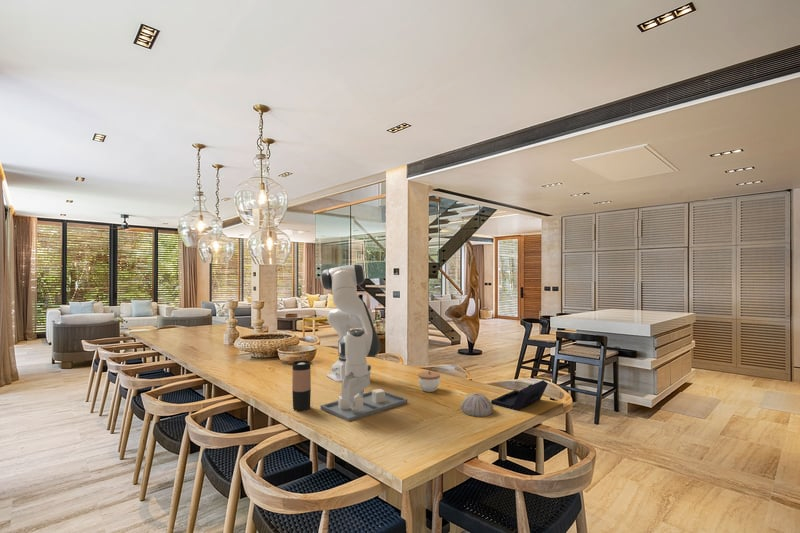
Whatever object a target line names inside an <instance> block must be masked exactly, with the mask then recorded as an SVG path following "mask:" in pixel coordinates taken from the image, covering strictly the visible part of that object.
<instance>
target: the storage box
mask: <svg viewBox="0 0 800 533" xmlns="http://www.w3.org/2000/svg"><path fill="white" fill-rule="evenodd" d="M548 384H549V383H548V382H547V381H546V380H544V379H543V380H540V381H538V382H536V383H534V384H532V383H531V384H529V385H528V386H526V387H525V388H522V389H520V390H517V389H514V390H512V391H510V392H507V393H505V394H503V395H500V396H498V397H496V398H493V399H491V400H490V402H491V403H492V405H493V406H497V407H501V408H505V409H509V410H513V411H520V410H521V409H524V408H526V407H528V406H530V405H532V404H534V403H536V402H539V401H540V400H541V398H542V397H543V395H544V393H545V391H546V388H547V387H548Z"/></svg>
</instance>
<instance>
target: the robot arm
mask: <svg viewBox="0 0 800 533" xmlns="http://www.w3.org/2000/svg"><path fill="white" fill-rule="evenodd" d="M319 279H320V284H321V286H322V287H323V289H325V290H326V291H327V290H329V291H331V293H332V294H331V296H332V301H333V304H334V306H335V307H336V308H332V309H331V310H330V311H329V312H328V313H327V317H326V318H327V319H326V320H327V323H328V325H329V326H330V327H332V329H333V330H334V331H336V332H335V333H336V334H337V335H338V338H339V339H338V341H337V357H338V360H336V361H335V363H333V364H332V365H331V368H330V369H331V370H330V372H329V373H327V374H326V376H327V377H328V378H330V379H331V380H333V381H335V383H341V397H342V399H348V401H349V406H350V407H354V406H355V402H354V400H353V399H354V396H355V395H358V394H360V395H361V396H362V397H363V394H364V393H365V389H366V388H368V387H370V384H371V371H372V365H371V364H368V363H367V362H368V361H367V358H374V357H376V356H377V355H378V354H379V353H380V352H381V348H382V347H381V346H382V345H381V341H380V340H381V339H380V338H379V335H378V334H377V331H376V328H375V326H374V318H375V317H374V313H373V312H372V311H371V309H369V308H368V306H367V303H366V302H365V301H363V300H361V298H360V297H359V294H358V291H357V286H360V285H362V284H364V282H365V280H366V271H365V269H364V268H363V266H362V264H361V265H360V264H352V265H351V264H348V265H341V266H336V267H332V268H325V269H323V270H322V272H321V273H320V278H319ZM361 329H363V330H361Z"/></svg>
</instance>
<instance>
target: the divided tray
mask: <svg viewBox="0 0 800 533" xmlns="http://www.w3.org/2000/svg"><path fill="white" fill-rule="evenodd" d="M406 404H408V399H407V398H405V397H402V396H400V395H396V394H393V393H390V392H387V391H385V402H380V403H375V402H374V401H372V390H371V391H367V392H364V394H363V409H357V410H352V409H351V408H349V409H342V410H341V409H340V408H339V407H338V400H335V401H330V402H328V403H325V404H321V405H320V410H321V411H322V412H325V413H328V414H330V415H332V416H335V417H338V418H339V419H341V420H344V421H346V422H349V423H350V422H352V421H354V420H355V421H356V420H358V419H362V418H364V417H368V416H372V415H375V414H377V413H381V412H383V411H387V410H390V409H393V408H397V407H400V406H403V405H406Z"/></svg>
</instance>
